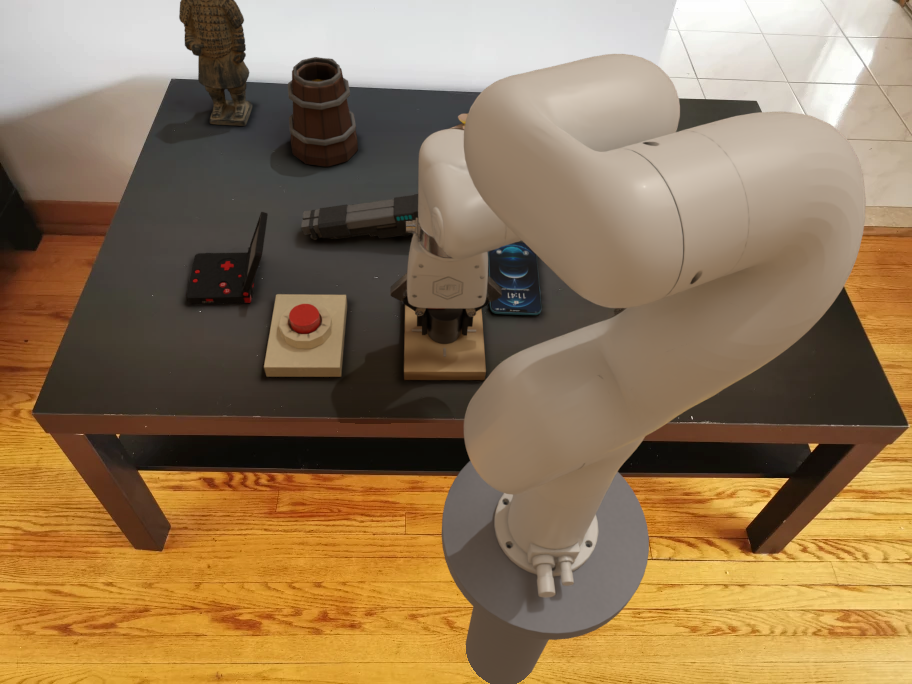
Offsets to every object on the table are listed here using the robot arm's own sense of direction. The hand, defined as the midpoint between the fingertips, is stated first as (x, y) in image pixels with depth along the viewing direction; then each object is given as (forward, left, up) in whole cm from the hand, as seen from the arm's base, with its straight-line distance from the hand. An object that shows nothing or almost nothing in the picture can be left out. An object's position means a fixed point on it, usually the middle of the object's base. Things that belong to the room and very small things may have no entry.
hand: (444, 326), depth 98 cm
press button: (0, +19, +1) cm, 19 cm away
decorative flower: (+48, -10, -3) cm, 49 cm away
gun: (+21, +11, -3) cm, 24 cm away
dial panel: (0, 0, -3) cm, 3 cm away
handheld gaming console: (+11, +31, -3) cm, 33 cm away
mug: (+46, +20, -3) cm, 50 cm away
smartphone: (+12, -11, -3) cm, 17 cm away
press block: (0, +19, -3) cm, 19 cm away
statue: (+53, +38, -3) cm, 65 cm away
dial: (0, 0, -1) cm, 1 cm away
